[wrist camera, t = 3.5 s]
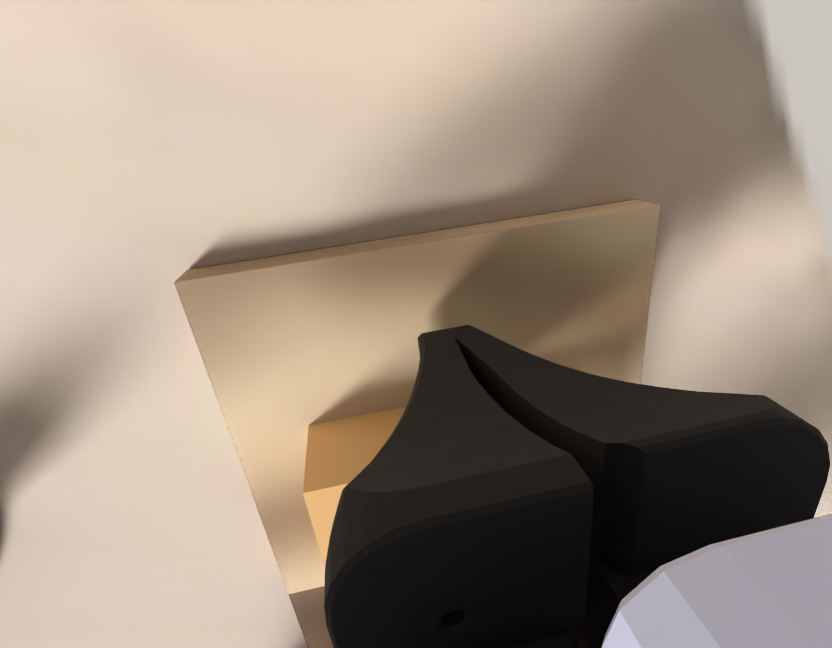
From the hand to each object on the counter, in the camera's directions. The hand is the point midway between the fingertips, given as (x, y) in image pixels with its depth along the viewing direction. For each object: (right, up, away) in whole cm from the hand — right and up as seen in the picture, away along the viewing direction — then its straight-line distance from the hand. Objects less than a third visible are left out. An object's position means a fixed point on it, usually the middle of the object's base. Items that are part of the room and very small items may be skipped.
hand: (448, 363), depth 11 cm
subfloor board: (0, -4, +4) cm, 6 cm away
